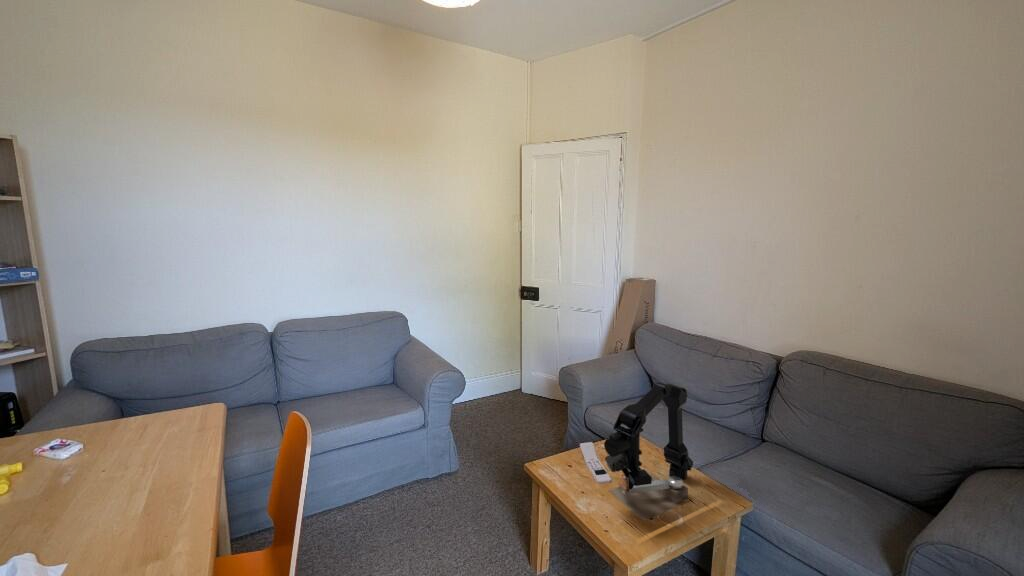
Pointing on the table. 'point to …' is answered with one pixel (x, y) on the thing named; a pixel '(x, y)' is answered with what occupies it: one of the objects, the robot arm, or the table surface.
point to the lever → (652, 485)
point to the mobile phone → (594, 463)
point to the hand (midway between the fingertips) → (630, 488)
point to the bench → (651, 500)
